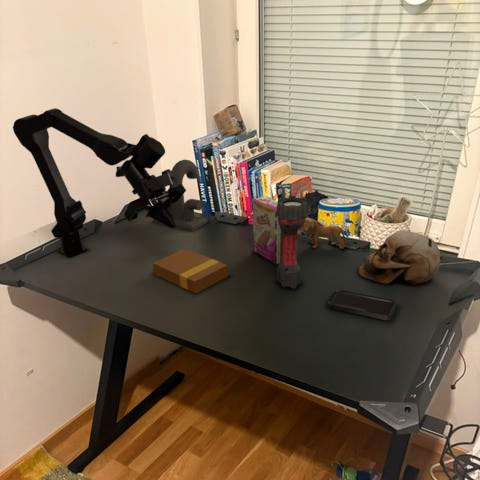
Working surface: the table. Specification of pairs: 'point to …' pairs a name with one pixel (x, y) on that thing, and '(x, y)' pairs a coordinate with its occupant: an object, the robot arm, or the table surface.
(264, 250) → the candy bar box
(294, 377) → the table surface
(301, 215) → the flashlight
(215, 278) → the brown banded box
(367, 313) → the phone
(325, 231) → the lion figurine
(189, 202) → the dark grey curved stand
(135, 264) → the table surface
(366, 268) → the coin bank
